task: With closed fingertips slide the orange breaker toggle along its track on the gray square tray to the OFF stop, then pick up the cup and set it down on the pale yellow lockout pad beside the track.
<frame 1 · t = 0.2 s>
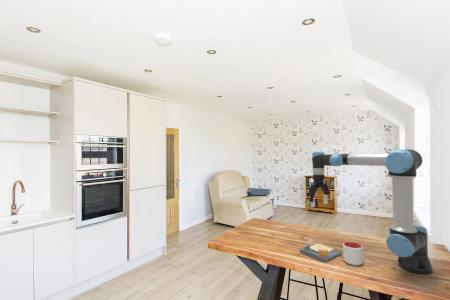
hand: (319, 205, 166), 28 cm above the table, fingers open, 13 cm apart
gray square tray: (320, 253, 153), on the table
cup: (353, 262, 141), on the table
toggle: (323, 252, 145), point 4 cm above the table, slide at 0.0 cm
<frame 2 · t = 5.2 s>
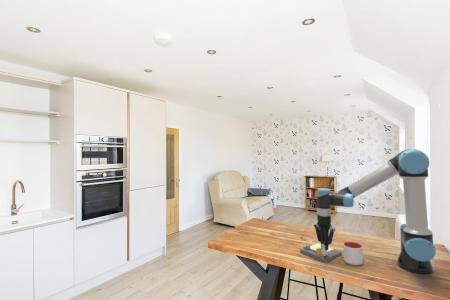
hand: (324, 254, 144), 4 cm above the table, fingers closed
toggle: (320, 252, 146), point 4 cm above the table, slide at 1.5 cm, touching gripper
everything else where it was.
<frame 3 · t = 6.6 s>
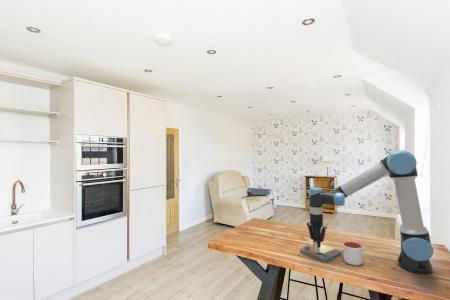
hand: (317, 252, 148), 3 cm above the table, fingers closed
toggle: (313, 249, 150), point 4 cm above the table, slide at 6.7 cm, touching gripper
everything else where it was.
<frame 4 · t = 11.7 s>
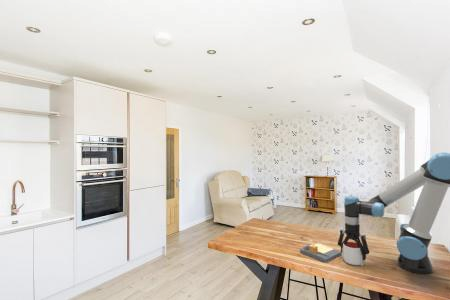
hand: (353, 261, 141), 0 cm above the table, fingers closed on cup, 10 cm apart
cup: (353, 262, 141), on the table, touching gripper
toggle: (313, 249, 150), point 4 cm above the table, slide at 6.7 cm
when the fingers open (4 cm above the table, at t = 17.0 s): cup drops 2 cm, resting on gray square tray.
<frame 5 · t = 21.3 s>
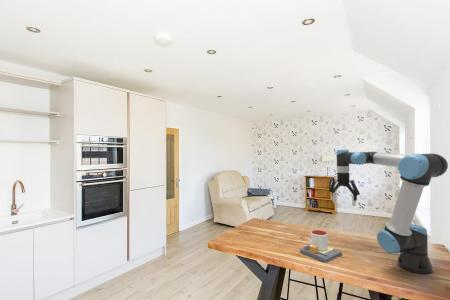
hand: (344, 203, 164), 29 cm above the table, fingers open, 13 cm apart
cup: (319, 248, 156), point 2 cm above the table, touching gray square tray
everything else where it was.
at the end: toggle slide at 6.7 cm; cup inside the target area on the gray square tray (0.2 cm from its centre), point 2.1 cm above the gray square tray's base; cup tilted 0° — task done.
